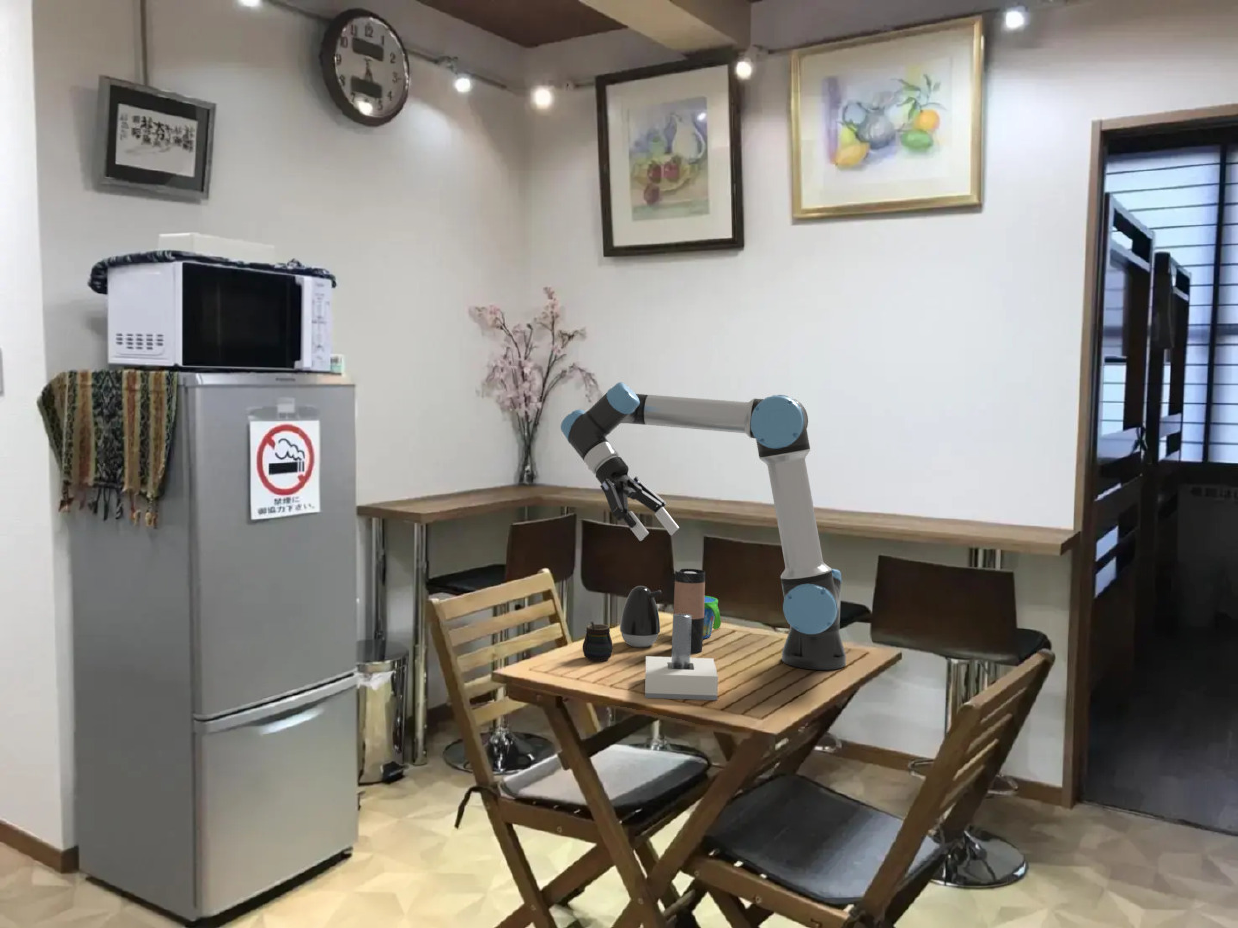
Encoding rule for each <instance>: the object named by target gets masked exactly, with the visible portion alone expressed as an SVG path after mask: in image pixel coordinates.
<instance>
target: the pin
mask: <svg viewBox="0 0 1238 928" xmlns="http://www.w3.org/2000/svg"><path fill="white" fill-rule="evenodd" d="M691 620H692V615H689V614H682V613H679V614H674V613H673V614H672V632H671V633H672V636H671V657H672V660H671V669H683V670H690V658H691V654H690V650H691Z"/></svg>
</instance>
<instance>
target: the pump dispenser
mask: <svg viewBox="0 0 1238 928" xmlns="http://www.w3.org/2000/svg"><path fill="white" fill-rule="evenodd" d="M661 594H662V590H656V591H651V590H650V589H649V588H648V587H647V586H644V585H637V586H635V587H634V588H632V589H631V590H630V592H629V594H628V596H627V598H626V600H625V603H624V606H623V609H622V612H621V613H622V614H621V616H620V617H621V618H620V625H619V631H620V633H621V637H622V639H623V641H624V642H625V644H627V645H628V646H630V647H634V648H648V647H651V646H653V644H655V642H656V641H657V640H658V637H659V634H660V632H661V621H660V615H659V614H660V613H659V610H658V606H657V604H656V600H655V597H658V596H659V595H661Z"/></svg>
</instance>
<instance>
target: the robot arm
mask: <svg viewBox="0 0 1238 928" xmlns="http://www.w3.org/2000/svg"><path fill="white" fill-rule="evenodd" d="M808 423H809V416H808V413H807V409H806V408H805V407H804V405H803V404H802V403H801V402H800V401H799V400H798V399H795V398H793V397H790V396H788V395H784V394H773V395H772V396H768V397H765V398H752V399H751V400H750V401H737V400H736V401H735V400H725V399H724V400H722V399H710V398H698V397H697V398H696V397H684V396H669V395H658V394H657V395H656V394H655V395H654V394H643V393H635V391H634V390H632V388H631V387H629V385H627V384H625V383H624V382H621V381H620V382H617V383H616V384H615V385H614V386H612V387H611V388H608V390H607V391H606V393H604V395H602V396H601V397H600V399H598V401H597V402H595V404H594V405H592V407H590V408H588V410H587V411H585V410H583V409H575V410H573V411H572V412H571V413H569V414H567V415H565V417H564V418H563V420H562V421H561V424H560V431H561V432H562V433H563V435H564V437H565V439H566V440H567V442H568V444H570V445H571V446H572V448H573V449H574V450H575V452H576V453H577V454H578V456H580V458H581V459H582V461H584V463H585V464H586V466H587V467H588V470H590V471H591V472H592V474H594V475H595V478H596V479H597V481H598V482H599V483H600V489H601V490H602V491H603V493H604V495H605V498H606V501H607V503H608V506H609V508H610V513H611V514H612V515H613V517H614V518H616V520H618V521H622V520H623V521H624V522H625V523H626V525H627V526H628V527H629V529H630V531H632V533H633V534H634V536H635V537H636V538H637V540H638V541H640V542H641V541H643V540H644V539H645V538H646V537H647V536H648V535H649V534H650V532H649V531H648V530H647V528H646V527H645V526H644V524H643V523H642V522H641V521H640V519H639V518H638V516H637V515H636V514H635V513H634V511H632V510H629V509H630V508H629V503H628V502H629V501H628V498H630V499H631V500H636V501H638V502H639V503H640V504H642V505H643V506H645V507H646V508H648V509H649V510H651V511H653V512H654V515H655V518H657V520H658V521H659V522H660V524H661V525H662V527H664V528H665V530H666V531H667V533H668V534H669V535H670V536H674V535H675V533H676V532H677V531H678V530H679V529H680V527H679V525H678V524H677V523H676V522H675V520H674V519H673V518H672V516H671V515H670V514H669V512H668V511H667V510H666V509H665V506H666V505H667V502H666V501H665V500H664V499H663V498H661V496H659V495H658V494H657V493H655V492H654V491H653V490H652V489H651V488H650V487H649V486H647V485H646V484H645V483H644V482H643V481H642V480H641V479H640V478H639V476H635V477H634V478H633V479H632V478H631V477H630V476H629V475H628V474H629V466H628V465H627V464H626V462H625V461H624V459H623V458H622V457H621V456H620V455H619V453H618V452H617V451H616V449H615V448H614V447H613V445H612V444H611V443H610V442H609V440H608V439H607V436H608V435H610V434H611V432H613V431H614V430H615V429H616V428H617V427H618V426H619V425H621V424H632V425H641V426H643V425H645V426H646V425H648V426H658V427H666V428H667V427H668V428H669V427H670V428H681V429H691V430H702V431H703V430H704V431H714V432H726V433H738V434H746V435H747V436H748V437H749V438H750V439H755V441H756V447H757V453H758V458H759V460H760V461H761V462H763V463H764V464H766V466H767V470H768V476H769V482H770V489H771V495H772V499H773V505H774V511H775V517H776V522H777V527H778V533H779V538H780V544H781V549H782V554H783V561H784V567H785V568H784V570H783V571H782V573H781V575H780V582H781V588H782V593H783V595H782V596H783V603H782V610H783V611H782V612H783V615H784V617H785V620H786V621H787V623H788V624H789V626H790V627H789V631H788V634H787V637H786V640H785V642H784V645H783V648H782V651H781V661H782V662H783V663H784V664H786V665H787V666H790V667H794V668H799V669H805V670H816V671H817V670H818V671H823V670H824V671H826V670H827V671H828V670H829V671H831V670H837V669H841V668H843V667H845V666H846V663H847V662H846V661H847V655H846V654H847V653H846V651H845V648H844V645H843V641H842V638H841V633H840V624H841V623H840V621H841V601H842V600H841V598H842V597H841V596H842V583H843V580H842V573H841V571H840V569H837V568H832V567H830V566H828V564H826V563H825V562H824V560H823V559H824V558H823V553H822V547H821V541H820V537H819V530H818V525H817V519H816V513H815V508H814V502H813V498H812V497H813V495H812V491H811V486H810V479H809V473H808V469H807V462H806V458H807V456H808V454H809V453H810V451H811V446H810V440H809V435H808V430H807V429H808V427H809V424H808Z"/></svg>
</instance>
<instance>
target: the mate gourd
mask: <svg viewBox="0 0 1238 928" xmlns="http://www.w3.org/2000/svg"><path fill="white" fill-rule="evenodd" d="M610 628H611V627H610V626H609V625H607V624H603V623H602V624H601V623H594V621H590V624H588V625H587V626H586V633H585V638H584V640H583V643H582V652H583V655H584V657H585V658H586V659H587V660H588V661H591V662H605V661H608V660H609V659H610V658H611V656H612V653H613V651H614V643H613V641H612V638H611V637H612V636H611V634H610V632H611V629H610Z"/></svg>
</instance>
